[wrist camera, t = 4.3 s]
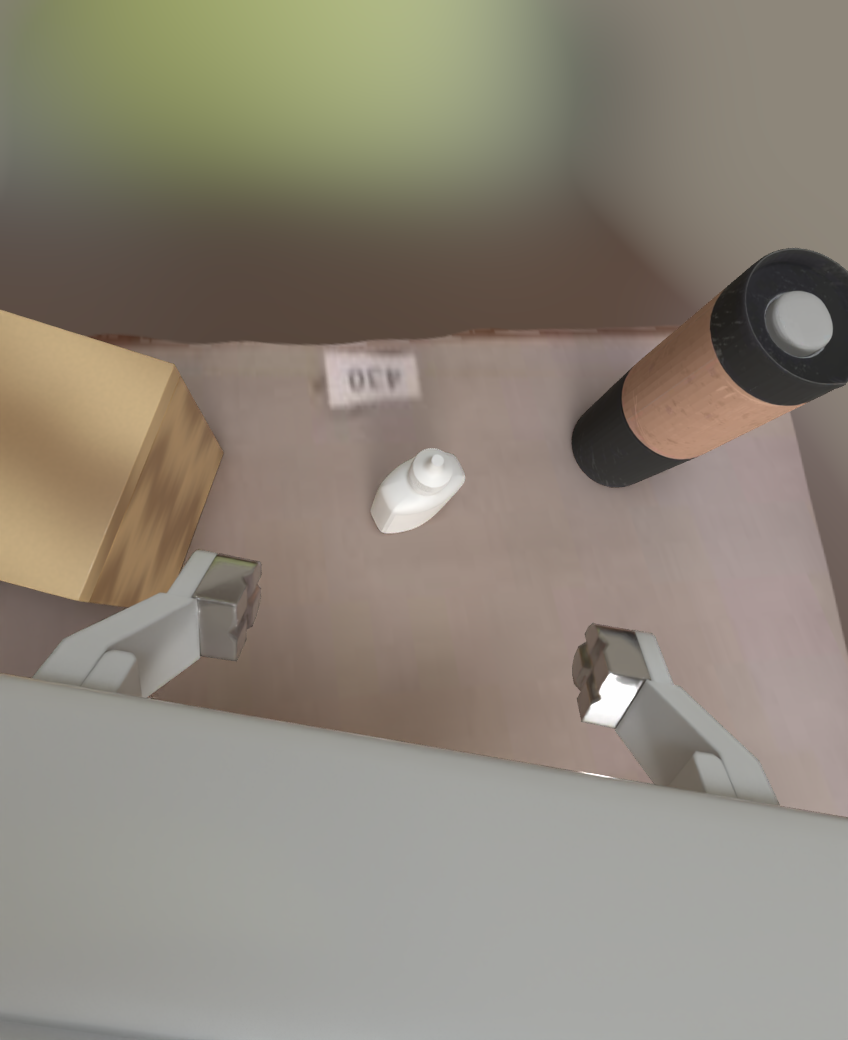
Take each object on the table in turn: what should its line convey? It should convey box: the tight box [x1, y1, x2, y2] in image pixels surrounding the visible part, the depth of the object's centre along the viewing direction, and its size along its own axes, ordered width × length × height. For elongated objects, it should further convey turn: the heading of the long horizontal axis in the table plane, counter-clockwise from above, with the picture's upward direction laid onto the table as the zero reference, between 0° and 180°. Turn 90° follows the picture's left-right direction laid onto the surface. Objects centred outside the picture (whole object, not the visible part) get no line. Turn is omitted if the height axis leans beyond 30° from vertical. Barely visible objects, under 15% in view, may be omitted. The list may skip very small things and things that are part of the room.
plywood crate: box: [0, 310, 223, 608], centre depth 32 cm, size 12×14×14 cm
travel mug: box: [572, 248, 848, 487], centre depth 37 cm, size 8×8×20 cm
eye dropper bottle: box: [370, 448, 465, 533], centre depth 37 cm, size 4×6×12 cm
